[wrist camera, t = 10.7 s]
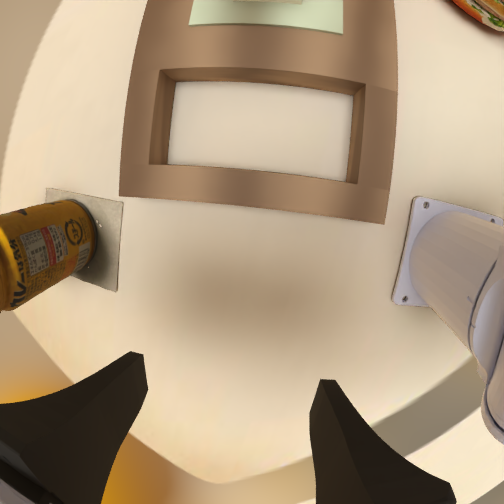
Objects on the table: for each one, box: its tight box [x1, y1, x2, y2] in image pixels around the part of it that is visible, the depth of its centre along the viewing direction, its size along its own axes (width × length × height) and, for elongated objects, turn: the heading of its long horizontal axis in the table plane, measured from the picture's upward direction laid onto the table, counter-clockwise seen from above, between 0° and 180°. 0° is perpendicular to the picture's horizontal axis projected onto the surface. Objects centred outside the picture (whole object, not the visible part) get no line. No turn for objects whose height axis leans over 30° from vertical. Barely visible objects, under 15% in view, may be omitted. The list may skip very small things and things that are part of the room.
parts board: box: [119, 0, 398, 225], centre depth 15 cm, size 16×20×3 cm
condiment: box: [0, 188, 123, 313], centre depth 15 cm, size 7×8×12 cm
